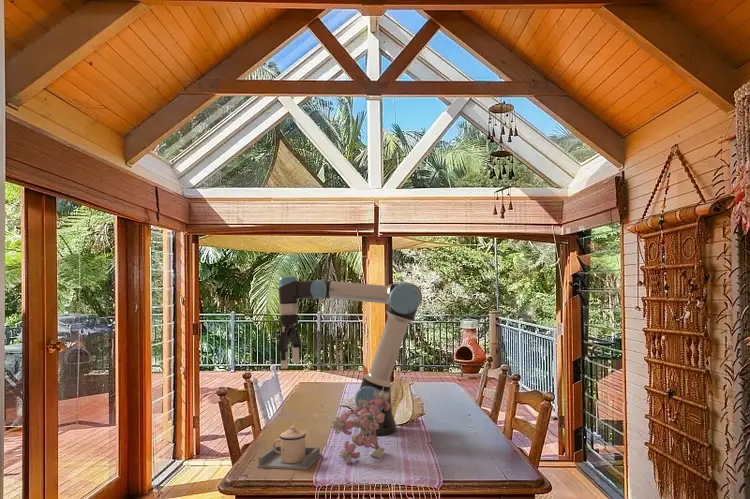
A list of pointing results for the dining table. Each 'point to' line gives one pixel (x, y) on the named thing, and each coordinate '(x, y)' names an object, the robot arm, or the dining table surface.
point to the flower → (363, 426)
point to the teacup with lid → (291, 446)
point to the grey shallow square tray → (274, 461)
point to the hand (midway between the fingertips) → (290, 365)
